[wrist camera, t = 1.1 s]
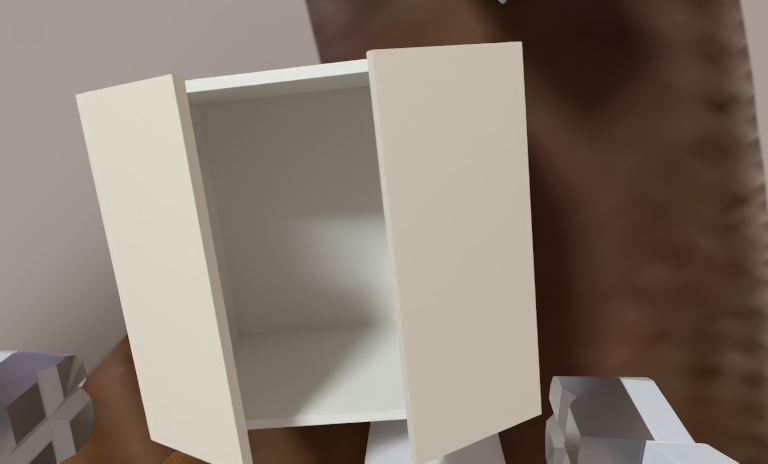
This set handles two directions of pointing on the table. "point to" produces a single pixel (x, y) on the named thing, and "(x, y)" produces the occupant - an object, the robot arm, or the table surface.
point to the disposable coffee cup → (183, 459)
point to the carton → (301, 242)
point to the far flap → (166, 265)
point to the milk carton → (392, 447)
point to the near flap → (458, 238)
